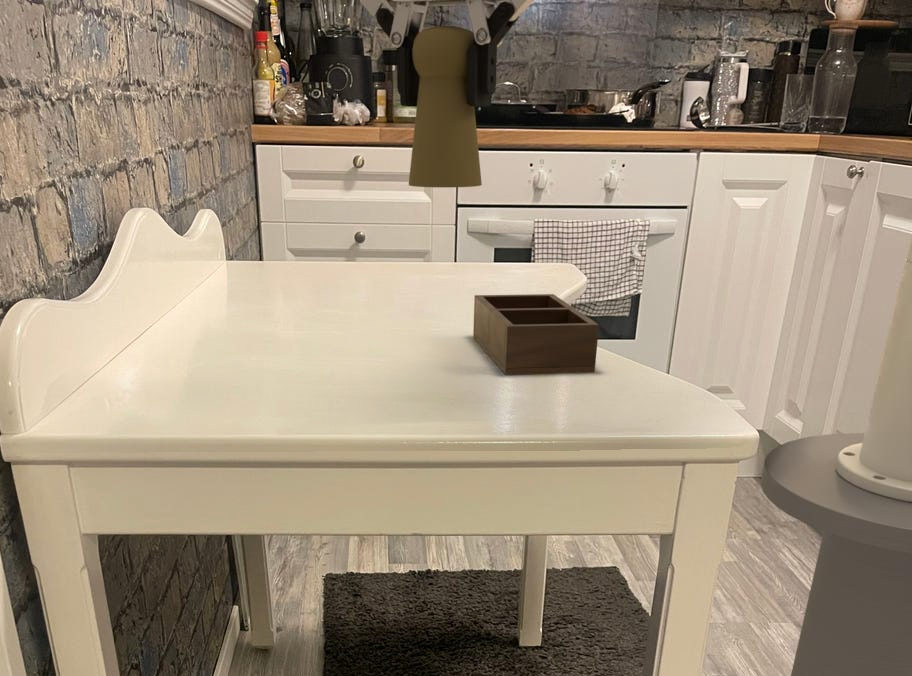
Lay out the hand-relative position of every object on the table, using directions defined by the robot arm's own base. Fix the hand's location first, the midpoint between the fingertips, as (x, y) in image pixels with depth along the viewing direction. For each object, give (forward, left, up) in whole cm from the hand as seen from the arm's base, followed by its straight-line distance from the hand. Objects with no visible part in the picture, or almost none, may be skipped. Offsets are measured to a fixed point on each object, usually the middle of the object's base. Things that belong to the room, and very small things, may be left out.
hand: (445, 103), depth 76 cm
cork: (0, 0, -6) cm, 6 cm away
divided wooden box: (0, -19, -23) cm, 30 cm away
